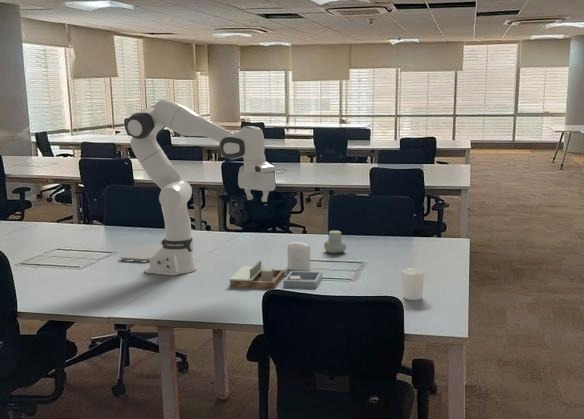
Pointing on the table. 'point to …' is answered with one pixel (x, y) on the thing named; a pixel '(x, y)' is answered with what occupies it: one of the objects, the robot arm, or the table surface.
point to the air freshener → (335, 243)
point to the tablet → (142, 253)
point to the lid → (247, 272)
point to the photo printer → (298, 256)
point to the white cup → (412, 283)
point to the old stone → (295, 278)
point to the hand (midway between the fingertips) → (257, 200)
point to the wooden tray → (258, 283)
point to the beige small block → (267, 274)
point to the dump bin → (303, 279)
